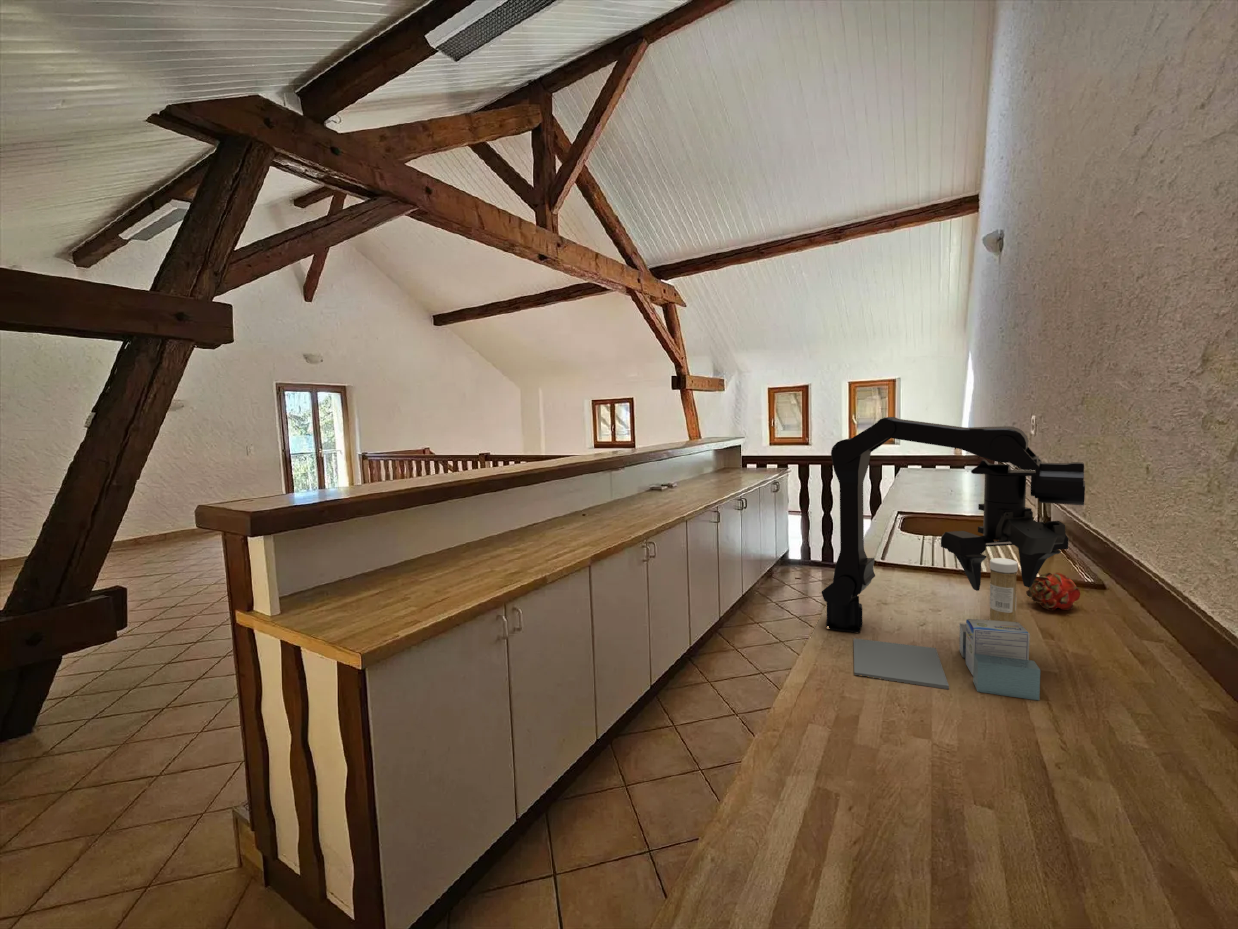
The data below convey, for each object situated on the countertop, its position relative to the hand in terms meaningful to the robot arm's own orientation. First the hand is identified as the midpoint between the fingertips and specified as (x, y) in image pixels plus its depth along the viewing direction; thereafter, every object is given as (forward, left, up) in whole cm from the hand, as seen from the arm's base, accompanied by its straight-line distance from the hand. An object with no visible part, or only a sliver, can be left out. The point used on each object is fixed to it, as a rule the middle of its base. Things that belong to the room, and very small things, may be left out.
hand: (1001, 588), depth 90 cm
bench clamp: (-2, -2, -13) cm, 14 cm away
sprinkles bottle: (+4, +18, -14) cm, 23 cm away
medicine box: (-2, -5, -14) cm, 15 cm away
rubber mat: (-17, -6, -13) cm, 22 cm away
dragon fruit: (+16, +31, -14) cm, 38 cm away
